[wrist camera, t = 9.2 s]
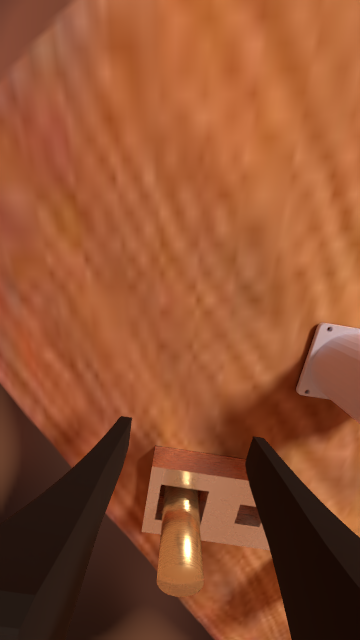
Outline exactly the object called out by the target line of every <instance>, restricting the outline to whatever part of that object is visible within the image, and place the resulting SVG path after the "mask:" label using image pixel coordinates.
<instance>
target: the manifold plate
mask: <svg viewBox="0 0 360 640" xmlns="http://www.w3.org/2000/svg"><path fill="white" fill-rule="evenodd" d="M245 462H246V459H239V458H233V457H226V456H220V455H213V454H206V453H200V452H193V451H187V450H180V449H173V448H167V447H160V446H155V452H154V458H153V463H152V470H151V476H150V482H149V488H148V494H147V501H146V507H145V513H144V519H143V526H142V532H147V533H154V534H160V535H161V525H162V514H163V502H164V496H160V495H159V493H160V487H161V484H162V485H168V486H175V487H182V488H189V489H195V490H201V493H200V497H199V501H198V505H199V520H200V534H201V540H202V541H209V542H216V543H223V544H230V545H237V546H244V547H251V548H258V549H265V550H270V548H269V545H268V541H267V538H266V535H265V532H264V529H263V526H262V523H261V520H260V517H259V514H258V511H257V508H256V505H255V501H254V498H253V495H252V492H251V489H250V485H249V481H248V477H247V472H246V467H245Z"/></svg>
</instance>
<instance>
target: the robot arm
mask: <svg viewBox="0 0 360 640" xmlns="http://www.w3.org/2000/svg"><path fill="white" fill-rule="evenodd" d="M328 327H330V328H329V330H328V331H327V328H328ZM306 390H307V391H306ZM305 391H306V392H305ZM296 392H297V393H298V394H299V395H304V396H310V397H317V398H323V399H329V400H332V401H333V402H334V403H335V404H336V405H338V406H339V407H340V408H341V409H342V410H344V411H345V412H346V413H347V414H348V415H350V416H351V417H352V418H353V419H354V420H356V421H357V422H358V423H359V424H360V329H359V328H353V327H347V326H341V325H335V324H329V323H320V324H319V325H318V327H317V329H316V332H315V335H314V338H313V341H312V344H311V347H310V350H309V353H308V356H307V358H306V361H305V364H304V367H303V370H302V373H301V376H300V379H299V382H298V385H297V388H296ZM131 421H132V418H129V417H123V416H121V417H120V418H119V419H118V420H117V422H116V423H115V424H114V425H113V427H112V428H111V429H110V430H109V431H108V432H107V434H106V435H105V436H104V437H103V438H102V439H101V440H100V441H99V442H98V443H97V445H96V446H95V447H94V448H93V449H92V450H91V451H90V452H89V453H88V454H87V455H86V456H85V457H84V458H83V459H82V460H81V461H80V462H78V463H77V464H76V465H75V466H74V467H73V468H72V469H71V470H70V471H69V472H67V473H66V474H65V475H64V476H63V477H62V478H61V479H59V480H58V481H57V482H56V483H55V484H53V485H52V486H51V487H50V488H48V489H47V490H46V491H45V492H44V493H42V494H41V495H40V496H38V497H37V498H36V499H34V500H33V501H32V502H30V503H29V504H28V505H26V506H25V507H23V508H22V509H21V510H19V511H18V512H16V513H15V514H14V515H12V516H11V517H9V518H8V519H7V520H5V521H4V522H2V523H1V524H0V640H65V639H66V635H67V632H68V629H69V625H70V622H71V619H72V615H73V612H74V608H75V605H76V602H77V598H78V595H79V592H80V589H81V585H82V582H83V579H84V576H85V572H86V569H87V566H88V563H89V559H90V556H91V553H92V549H93V547H94V543H95V540H96V537H97V534H98V531H99V528H100V525H101V522H102V519H103V517H104V514H105V511H106V509H107V506H108V504H109V501H110V498H111V496H112V493H113V491H114V488H115V486H116V483H117V480H118V478H119V475H120V472H121V470H122V467H123V464H124V460H125V457H126V453H127V450H128V446H129V438H130V430H131ZM245 467H246V472H247V477H248V481H249V485H250V489H251V492H252V495H253V498H254V501H255V505H256V508H257V511H258V514H259V517H260V520H261V523H262V526H263V529H264V532H265V535H266V538H267V541H268V545H269V548H270V552H271V555H272V559H273V563H274V567H275V571H276V575H277V579H278V583H279V587H280V591H281V595H282V599H283V604H284V608H285V612H286V616H287V621H288V625H289V630H290V634H291V639H292V640H360V538H359V537H358V536H357V535H356V534H355V533H354V532H353V531H351V530H350V529H349V528H348V527H347V526H346V525H345V524H344V523H343V522H342V521H341V520H340V519H339V518H337V517H336V516H335V515H334V514H333V513H332V512H331V511H330V510H329V509H328V508H327V507H326V506H325V505H324V504H323V503H322V502H321V501H320V500H319V499H318V498H317V497H316V496H315V495H314V494H313V493H312V492H311V491H310V490H309V489H308V488H307V487H306V485H305V484H304V483H303V482H302V481H301V480H300V479H299V478H298V477H297V476H296V475H295V473H294V472H293V471H292V470H291V469H290V468H289V467H288V466H287V464H286V463H285V462H284V461H283V460H282V459H281V457H280V456H279V455H278V454H277V453H276V452H275V451H274V449H273V448H272V447H271V446H270V445H269V444H268V442H267V441H266V440H265V439H264V438H260V437H253V439H252V442H251V446H250V449H249V452H248V456H247V459H246V462H245Z"/></svg>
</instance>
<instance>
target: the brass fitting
mask: <svg viewBox="0 0 360 640" xmlns="http://www.w3.org/2000/svg"><path fill="white" fill-rule="evenodd" d="M203 584H204V577H203V563H202V548H201V534H200V520H199V505H198V491H197V490H195V489H189V488H182V487H175V486H168V485H165V490H164V502H163V514H162V525H161V537H160V548H159V560H158V572H157V585H158V587H159V588H160V589H161V590H162V591H163V592H164V593H166V594H168V595H171V596H176V597H187V596H191V595H194V594H196V593H197V592H199V591H200V590H201V589H202V587H203Z"/></svg>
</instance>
